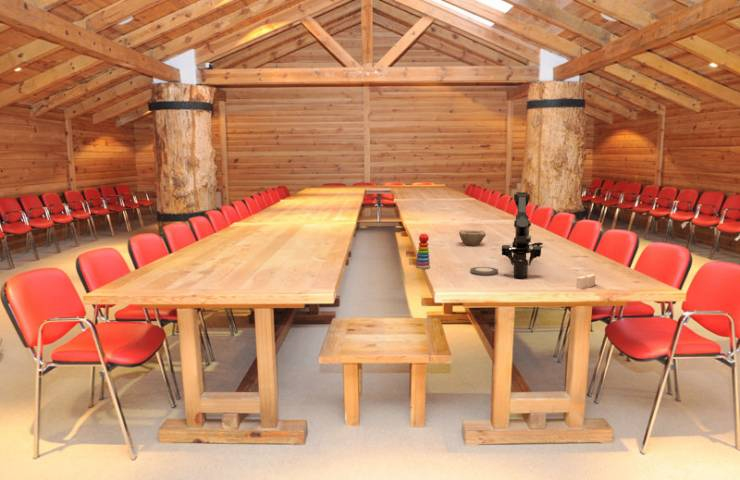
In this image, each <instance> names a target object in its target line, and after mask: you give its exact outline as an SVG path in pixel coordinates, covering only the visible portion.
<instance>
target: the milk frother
mask: <svg viewBox="0 0 740 480" xmlns="http://www.w3.org/2000/svg"><path fill="white" fill-rule="evenodd" d="M527 236H530V227H529V228H528V235H527ZM515 237H516V232H515ZM515 237H514V238H515ZM528 244H529V247H530V246H532V247H533V246H540V247H541V246H542V245H543V242H534V243H533V242H532V243H531V244H530V243H528Z"/></svg>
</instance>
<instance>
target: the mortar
mask: <svg viewBox="0 0 740 480" xmlns="http://www.w3.org/2000/svg"><path fill="white" fill-rule="evenodd" d="M458 232H459V237H460V240H461V241H462V243H463V245H465V246H469V247H478V246H479V245H481V243H482V242H483V240H484V238H485V237H486V235H487V233H486V231H483V230H472V229H471V230H470V229H469V230H463V229H462V230H459V231H458Z"/></svg>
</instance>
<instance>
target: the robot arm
mask: <svg viewBox="0 0 740 480" xmlns="http://www.w3.org/2000/svg"><path fill="white" fill-rule="evenodd" d="M530 200H531V194H529V193H528V192H527V191H525V192H523V191H522V192H521V191H516V193H514V194H513V201H514V205H515V207H516V208H517V214H516V216H515V220H514V221H513V222H514V223H513V227H514V229H515V233H516V237H514V239H513V241H512V244H511V245H512V247H511V245H510V244H503V245H502V246H501V255H502V256H505V257H506V258H508V259H509V261H510V264H511V265H512V266H514V260H515V259H516V253H525V254H526V255H527V254H530V255H529V259H528V267H530V266H531V264H532V262H533V261H534V259H536V258H537V257H538V258H540V257H541V254H542V247H541V245H540V246H532V248H530V246H529V245H530V243H531V241H532V236H531V235H529V236H527V235H528V228H529V229H530V227H531V226H532V223H531V222H530V220H529V215H527V207H528V204H529V202H530ZM528 243H529V244H528ZM531 244H532V243H531Z"/></svg>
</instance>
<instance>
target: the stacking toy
mask: <svg viewBox="0 0 740 480" xmlns="http://www.w3.org/2000/svg"><path fill="white" fill-rule="evenodd" d="M418 239H419V242H418V248H417V249H418V250H417V254H416V256H417V257H416V261H415V265H414V267H415V268H416V269H419V270H428V268H429V269H430V268H431V265H430V264H431V262H430V254H429V253H430V251H429V242H428V241H429V235H428V234H427V233H425V232H424V233H420V235H419V237H418Z"/></svg>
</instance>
